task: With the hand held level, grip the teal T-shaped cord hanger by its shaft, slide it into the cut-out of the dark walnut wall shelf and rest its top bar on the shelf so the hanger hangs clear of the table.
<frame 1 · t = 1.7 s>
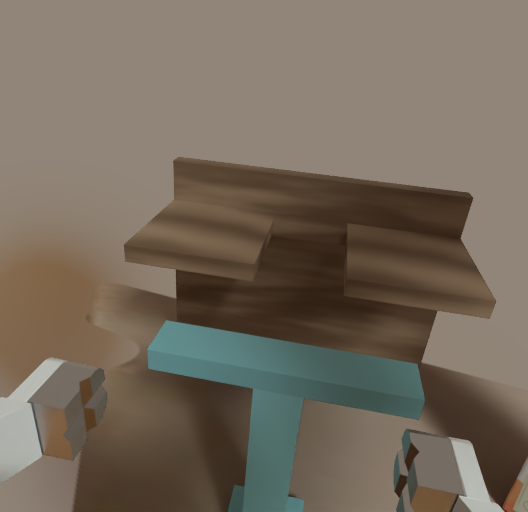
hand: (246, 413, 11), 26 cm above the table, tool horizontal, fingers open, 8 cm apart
wall shelf: (284, 405, 46), on the table
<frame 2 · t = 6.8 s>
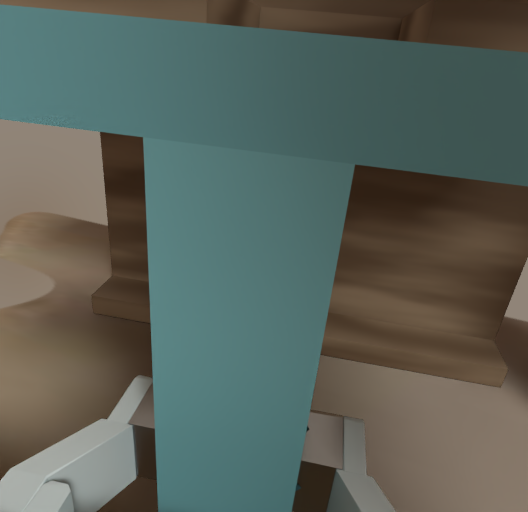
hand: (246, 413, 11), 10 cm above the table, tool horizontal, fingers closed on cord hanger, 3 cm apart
wall shelf: (280, 367, 27), on the table
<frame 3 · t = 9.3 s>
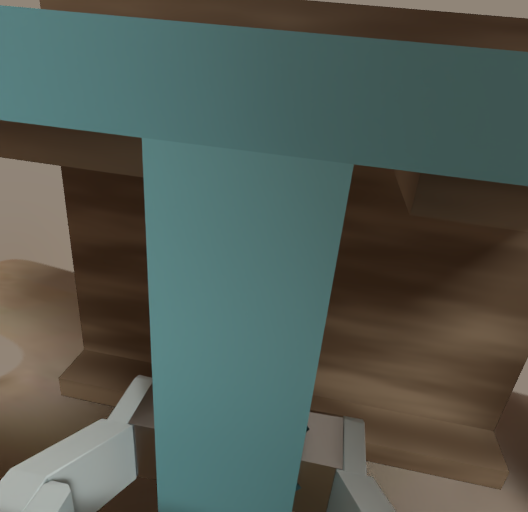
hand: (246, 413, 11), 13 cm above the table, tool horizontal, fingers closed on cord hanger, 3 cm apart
wall shelf: (260, 466, 25), on the table
when the fingers open (13 cm above the table, at t = 12.2 s): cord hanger stays where it is, resting on wall shelf.
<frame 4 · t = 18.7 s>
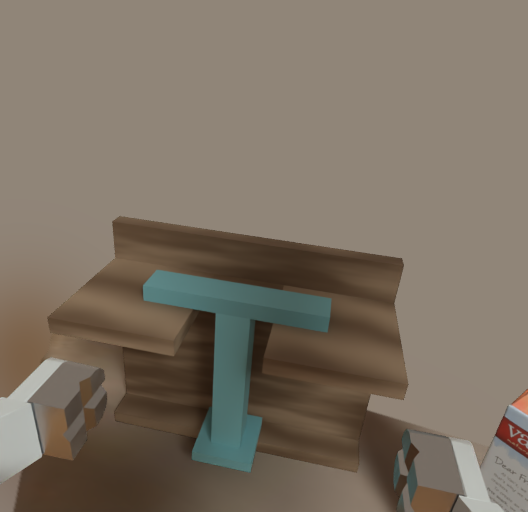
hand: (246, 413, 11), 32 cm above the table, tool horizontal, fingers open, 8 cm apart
wall shelf: (227, 460, 46), on the table
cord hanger: (228, 441, 45), point 3 cm above the table, touching wall shelf
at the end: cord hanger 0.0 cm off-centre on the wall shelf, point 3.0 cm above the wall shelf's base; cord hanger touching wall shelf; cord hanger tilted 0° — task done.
